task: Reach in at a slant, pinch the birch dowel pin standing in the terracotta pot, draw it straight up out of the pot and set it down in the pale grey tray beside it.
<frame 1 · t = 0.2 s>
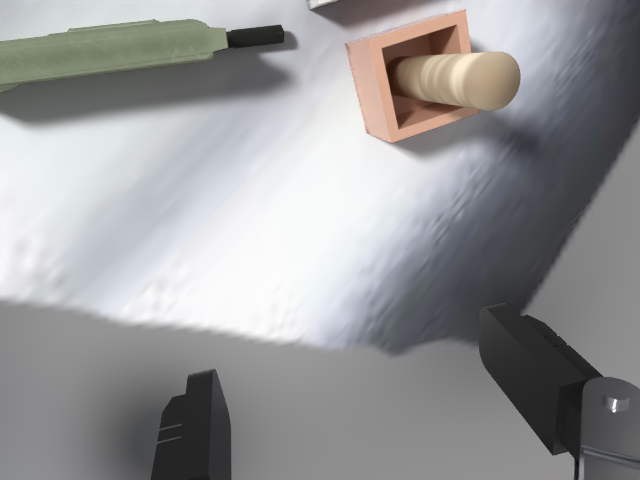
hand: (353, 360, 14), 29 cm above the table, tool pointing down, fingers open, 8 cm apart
dowel pin: (401, 76, 40), point 1 cm above the table, touching pot
pot: (397, 76, 40), on the table
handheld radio: (119, 53, 36), on the table
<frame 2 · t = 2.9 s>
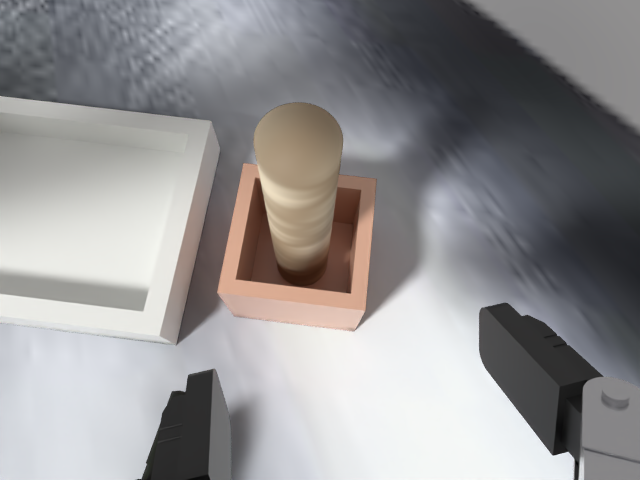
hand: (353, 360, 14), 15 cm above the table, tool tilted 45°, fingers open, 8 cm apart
dowel pin: (302, 261, 30), point 1 cm above the table, touching pot
tray: (53, 221, 31), on the table
pot: (302, 266, 31), on the table
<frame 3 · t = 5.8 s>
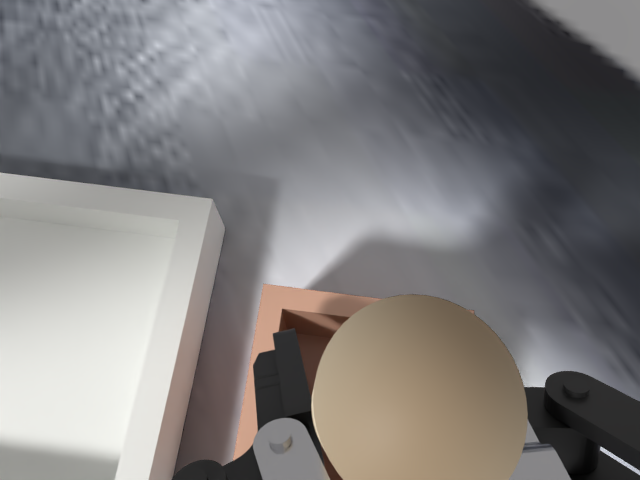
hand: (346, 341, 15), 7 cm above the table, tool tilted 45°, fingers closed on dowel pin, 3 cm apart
dowel pin: (346, 410, 20), point 1 cm above the table, touching gripper, pot
pot: (344, 411, 21), on the table
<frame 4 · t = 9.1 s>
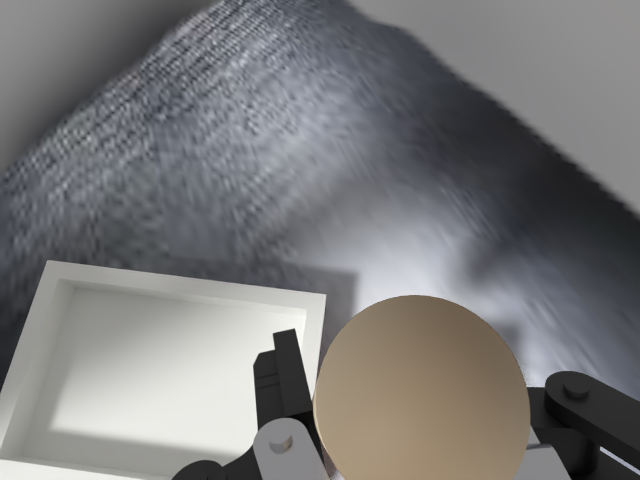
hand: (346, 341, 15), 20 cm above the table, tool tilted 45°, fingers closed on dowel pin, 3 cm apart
dowel pin: (347, 411, 20), point 14 cm above the table, touching gripper
tray: (175, 383, 34), on the table
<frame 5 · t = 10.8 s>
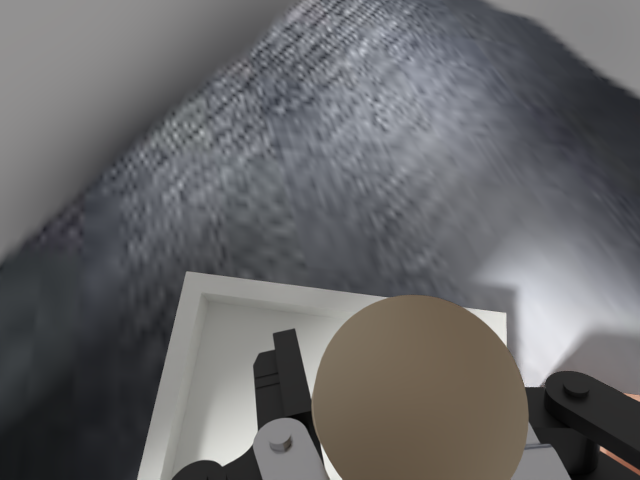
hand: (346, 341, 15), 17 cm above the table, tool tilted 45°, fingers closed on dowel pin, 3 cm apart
dowel pin: (346, 411, 20), point 10 cm above the table, touching gripper
tray: (329, 411, 30), on the table
when the fingers open (9 cm above the table, at t = 12.4 s): dowel pin drops 1 cm, resting on tray.
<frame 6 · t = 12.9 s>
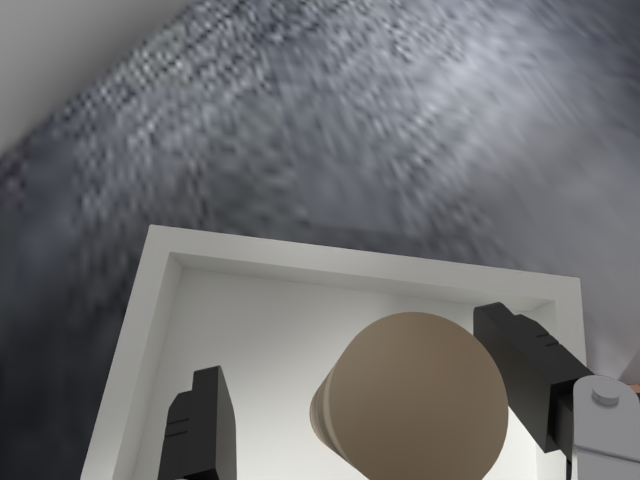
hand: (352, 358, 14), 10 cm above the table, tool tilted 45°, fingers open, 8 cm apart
dowel pin: (344, 413, 21), point 1 cm above the table, touching tray
tray: (341, 411, 22), on the table
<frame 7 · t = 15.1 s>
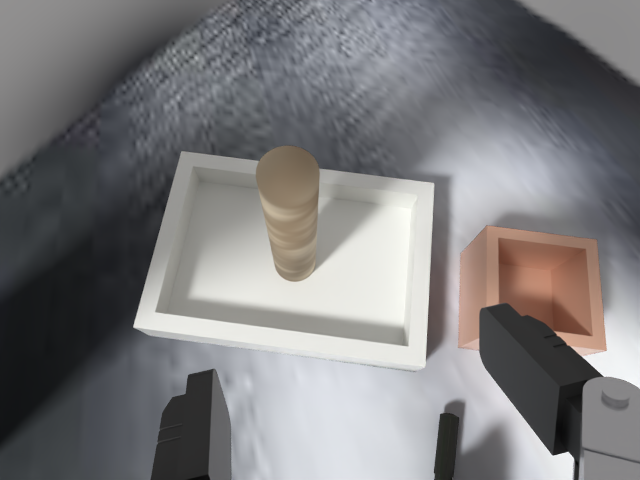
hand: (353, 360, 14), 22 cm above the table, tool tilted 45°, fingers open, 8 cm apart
dowel pin: (295, 261, 36), point 1 cm above the table, touching tray
tray: (294, 265, 37), on the table
pot: (507, 305, 37), on the table
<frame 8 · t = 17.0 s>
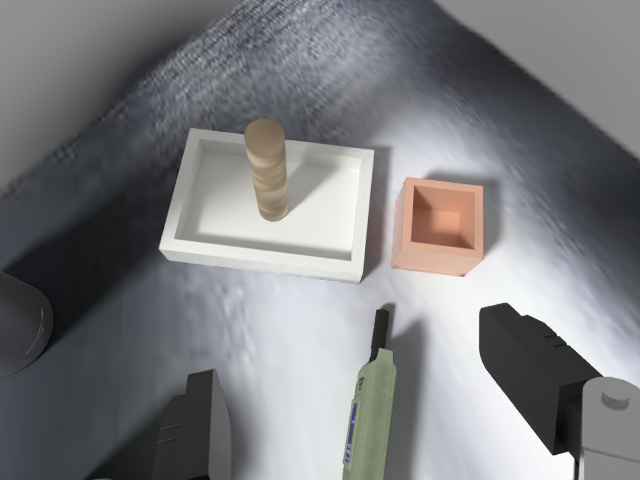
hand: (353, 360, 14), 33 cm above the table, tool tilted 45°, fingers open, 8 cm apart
dowel pin: (273, 207, 50), point 1 cm above the table, touching tray
tray: (273, 211, 51), on the table
pot: (428, 238, 50), on the table
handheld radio: (362, 443, 44), on the table
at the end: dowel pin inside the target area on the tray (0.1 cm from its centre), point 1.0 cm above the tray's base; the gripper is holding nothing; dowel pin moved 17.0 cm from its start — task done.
